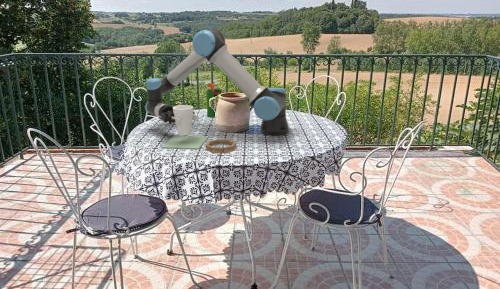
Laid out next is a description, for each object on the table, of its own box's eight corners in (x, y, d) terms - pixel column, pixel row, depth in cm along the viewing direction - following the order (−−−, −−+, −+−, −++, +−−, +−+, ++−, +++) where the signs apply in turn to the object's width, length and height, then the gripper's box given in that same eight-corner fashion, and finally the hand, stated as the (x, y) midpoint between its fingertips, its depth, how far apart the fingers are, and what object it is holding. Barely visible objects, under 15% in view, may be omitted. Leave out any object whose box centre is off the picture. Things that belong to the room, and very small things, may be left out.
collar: (237, 144, 188) (237, 139, 187) (232, 153, 175) (232, 148, 174) (210, 143, 190) (210, 138, 189) (203, 152, 177) (203, 147, 176)
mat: (208, 137, 198) (208, 136, 198) (198, 149, 181) (198, 148, 181) (174, 136, 201) (174, 135, 200) (161, 147, 184) (161, 146, 184)
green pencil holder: (219, 118, 236) (218, 84, 229) (205, 117, 237) (203, 84, 231) (223, 114, 245) (222, 82, 239) (210, 113, 247) (208, 81, 241)
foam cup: (185, 137, 183) (183, 110, 179) (170, 134, 188) (168, 108, 184) (198, 132, 191) (197, 106, 187) (183, 129, 196) (182, 104, 191)
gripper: (183, 115, 208) (208, 123, 192) (145, 122, 194) (168, 132, 178) (183, 101, 206) (207, 108, 190) (144, 108, 192) (167, 116, 176)
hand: (188, 120), depth 184 cm, fingers closed on foam cup, 9 cm apart
